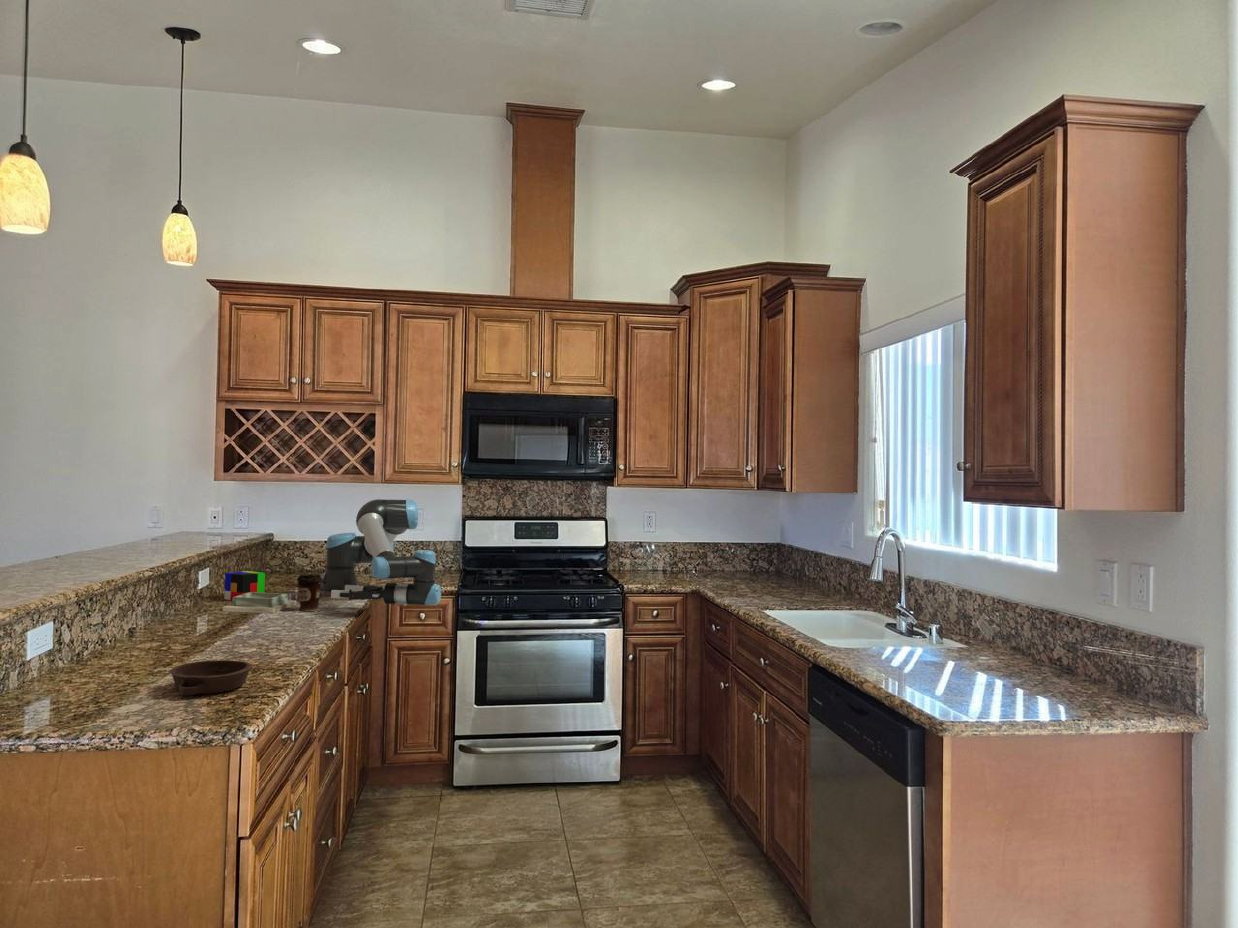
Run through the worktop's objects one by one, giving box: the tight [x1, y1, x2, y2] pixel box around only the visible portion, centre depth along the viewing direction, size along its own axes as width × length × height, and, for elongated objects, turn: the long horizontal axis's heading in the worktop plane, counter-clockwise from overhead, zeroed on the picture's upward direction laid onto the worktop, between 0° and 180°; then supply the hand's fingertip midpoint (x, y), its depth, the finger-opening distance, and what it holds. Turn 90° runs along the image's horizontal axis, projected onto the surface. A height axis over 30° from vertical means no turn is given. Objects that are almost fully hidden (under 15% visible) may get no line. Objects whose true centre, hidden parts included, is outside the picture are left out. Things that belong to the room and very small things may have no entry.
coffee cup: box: [296, 573, 323, 612], centre depth 317 cm, size 9×8×13 cm
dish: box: [169, 659, 253, 696], centre depth 206 cm, size 18×22×5 cm
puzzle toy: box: [224, 570, 266, 601], centre depth 338 cm, size 10×10×10 cm
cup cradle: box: [222, 592, 297, 614], centre depth 319 cm, size 20×18×4 cm
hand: (338, 591), depth 316 cm, fingers open, 13 cm apart
